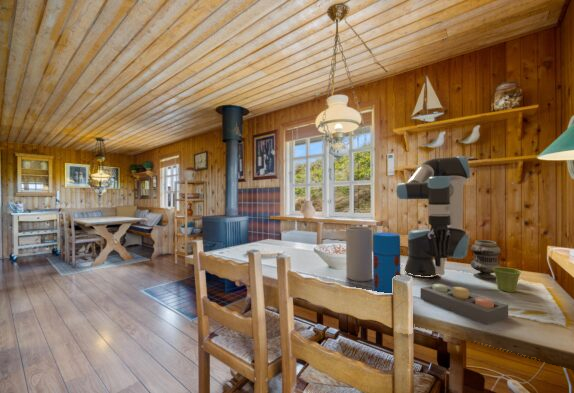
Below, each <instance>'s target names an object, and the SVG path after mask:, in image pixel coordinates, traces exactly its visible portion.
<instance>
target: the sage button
mask: <svg viewBox="0 0 574 393" xmlns="http://www.w3.org/2000/svg"><path fill="white" fill-rule="evenodd" d="M442 284H443V283H434V284H432V285H433V290H436V291H439V292H442V293H443V292H447V286H448V285H446V284H443V285H442ZM445 285H446V286H445Z"/></svg>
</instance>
